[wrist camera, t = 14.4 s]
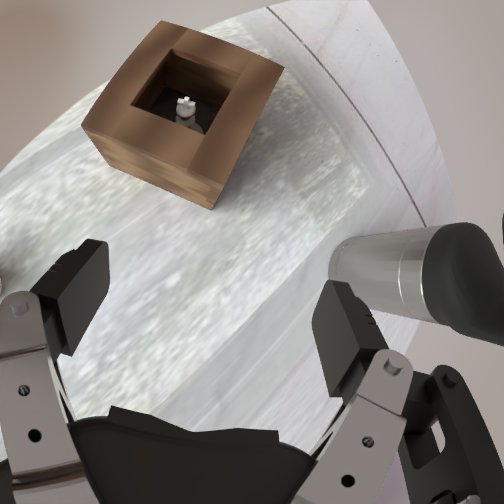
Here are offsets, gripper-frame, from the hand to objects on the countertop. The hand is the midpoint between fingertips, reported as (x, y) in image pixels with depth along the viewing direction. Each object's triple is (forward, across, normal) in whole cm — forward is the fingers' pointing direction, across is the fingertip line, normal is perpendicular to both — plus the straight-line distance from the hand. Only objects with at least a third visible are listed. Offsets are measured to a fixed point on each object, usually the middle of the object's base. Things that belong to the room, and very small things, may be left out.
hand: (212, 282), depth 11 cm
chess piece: (+29, +7, -1) cm, 30 cm away
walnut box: (+29, +7, -1) cm, 29 cm away
